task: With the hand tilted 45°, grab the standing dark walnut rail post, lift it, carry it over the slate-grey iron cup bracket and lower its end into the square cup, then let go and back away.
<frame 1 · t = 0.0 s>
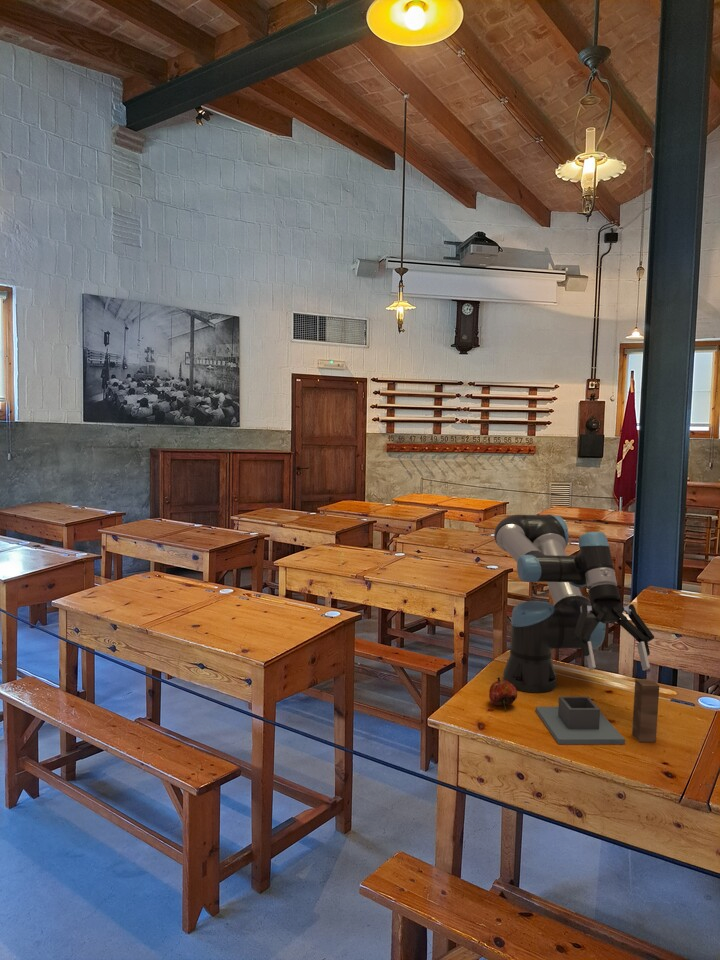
hand: (619, 669, 165), 15 cm above the table, tool tilted 35°, fingers open, 13 cm apart
walnut rail post: (643, 738, 162), on the table
cup bracket: (577, 726, 167), on the table
pomegranate: (502, 707, 179), on the table
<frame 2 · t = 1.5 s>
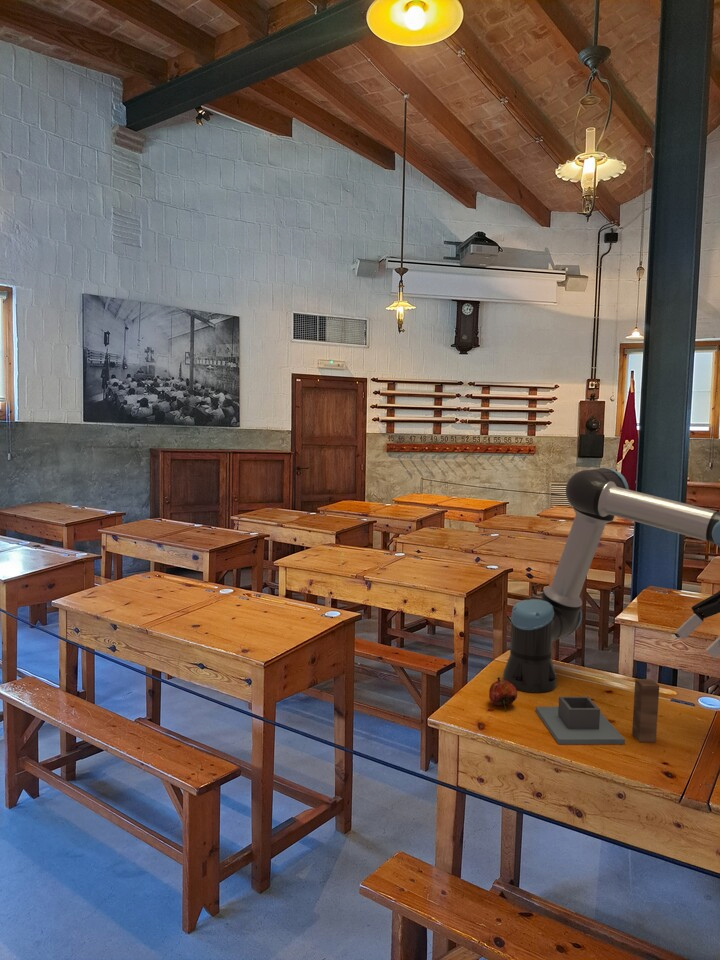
hand: (694, 644, 160), 23 cm above the table, tool tilted 45°, fingers open, 13 cm apart
nothing on the table moved.
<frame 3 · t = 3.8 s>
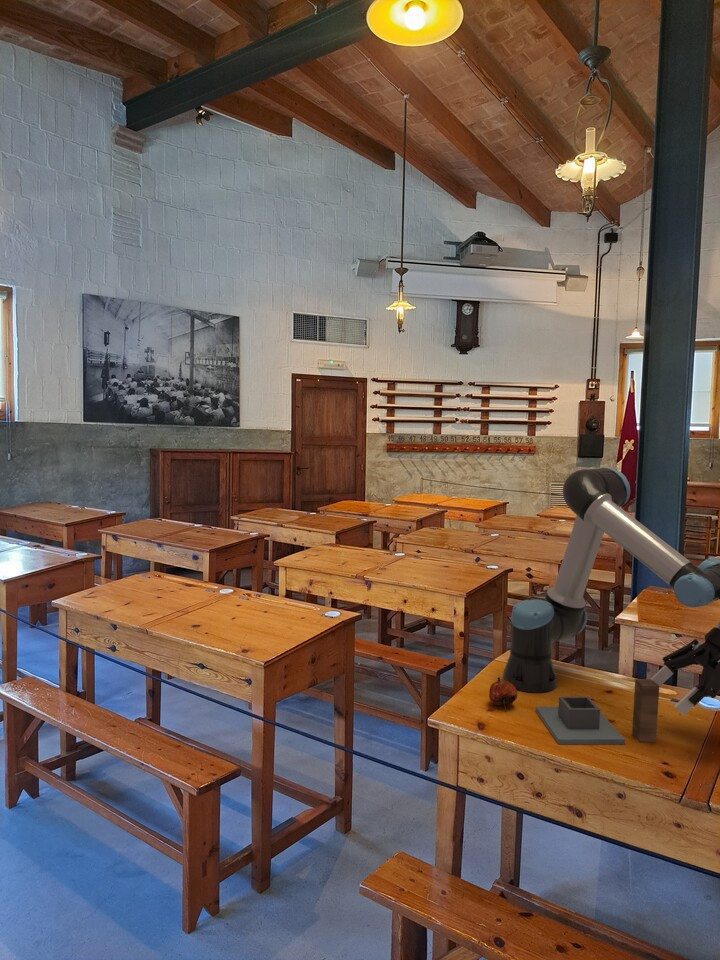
hand: (663, 698, 160), 10 cm above the table, tool tilted 45°, fingers open, 13 cm apart
nothing on the table moved.
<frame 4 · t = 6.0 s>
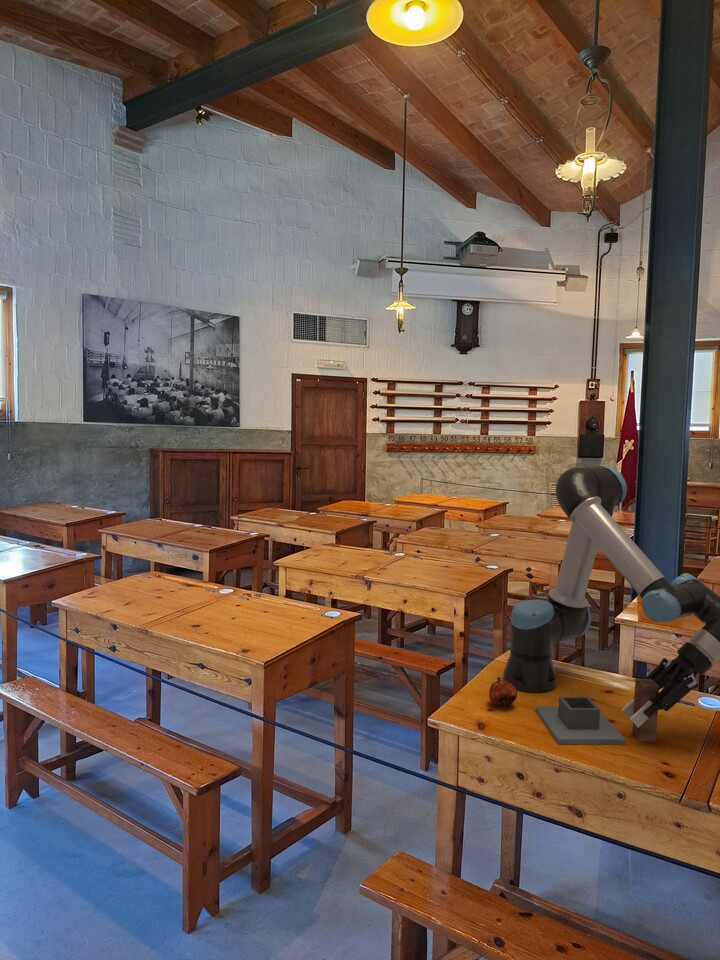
hand: (629, 718, 161), 5 cm above the table, tool tilted 45°, fingers closed on walnut rail post, 4 cm apart
walnut rail post: (643, 738, 162), on the table, touching gripper
everything else where it was.
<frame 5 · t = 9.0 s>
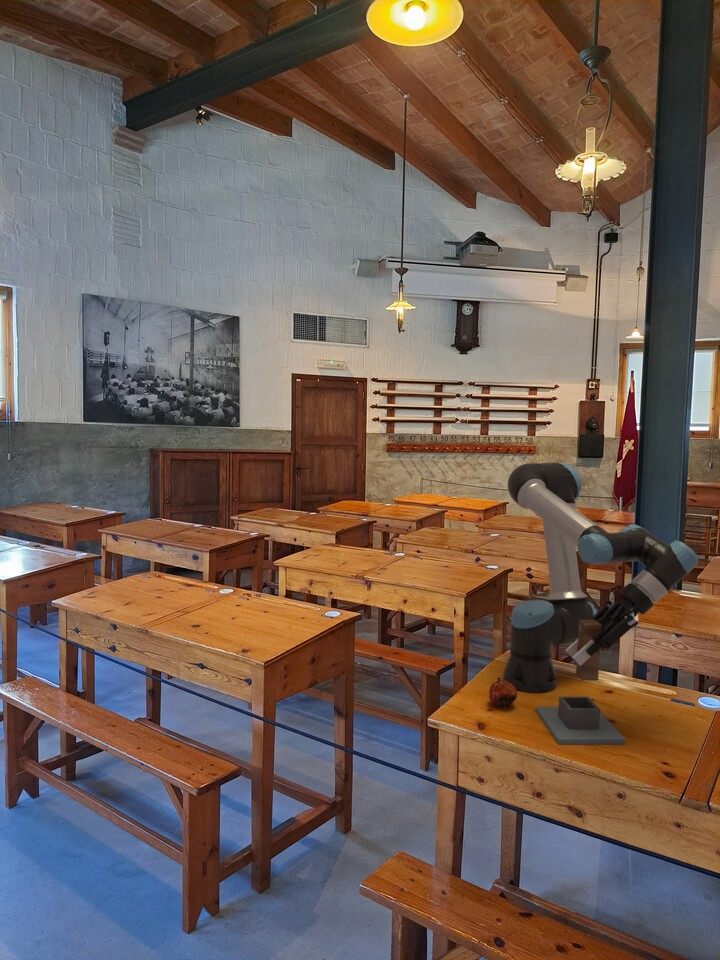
hand: (572, 657, 165), 18 cm above the table, tool tilted 45°, fingers closed on walnut rail post, 4 cm apart
walnut rail post: (586, 677, 165), point 13 cm above the table, touching gripper
everything else where it was.
when the fingers open (7 cm above the table, at t = 12.0 s): walnut rail post drops 1 cm, resting on cup bracket.
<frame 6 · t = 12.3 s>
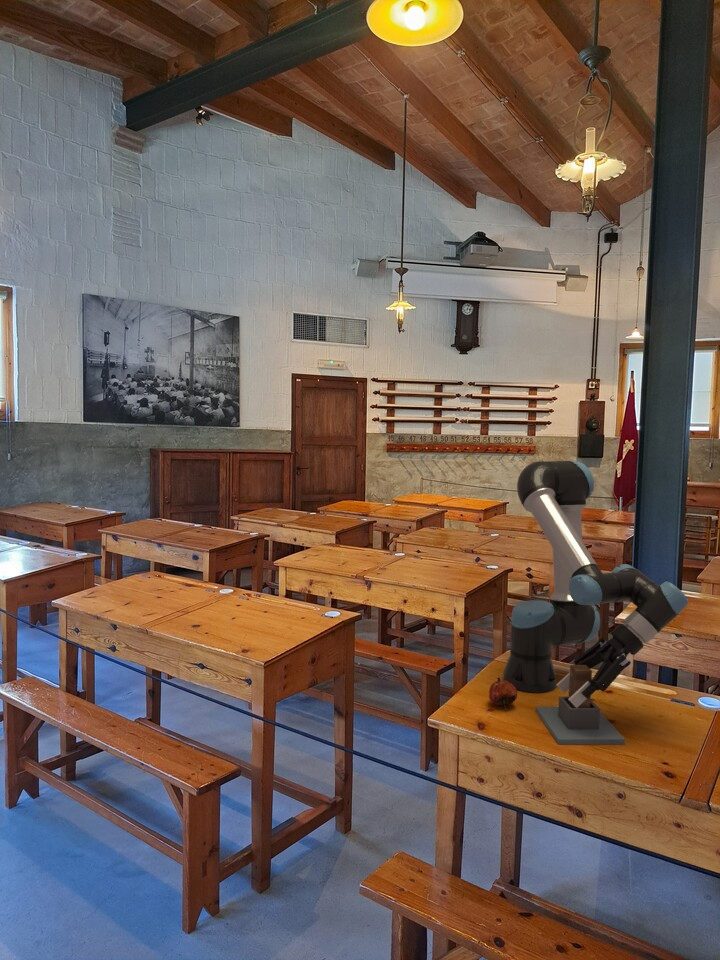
hand: (566, 696, 166), 8 cm above the table, tool tilted 45°, fingers open, 8 cm apart
walnut rail post: (578, 722, 167), point 1 cm above the table, touching cup bracket
everything else where it was.
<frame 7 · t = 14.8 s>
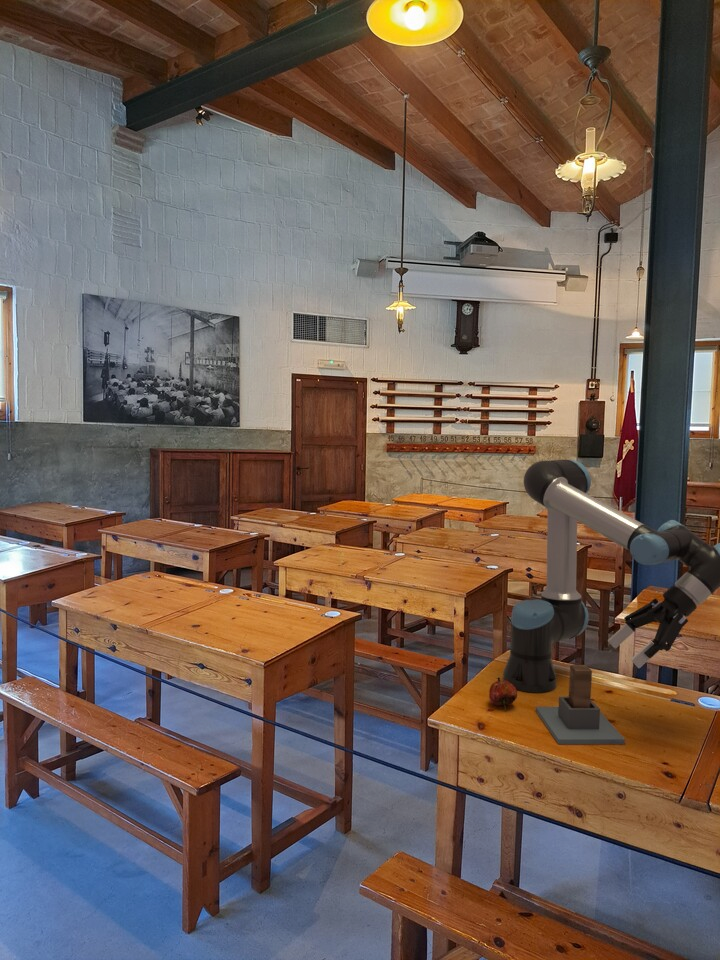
hand: (622, 654, 166), 19 cm above the table, tool tilted 45°, fingers open, 13 cm apart
nothing on the table moved.
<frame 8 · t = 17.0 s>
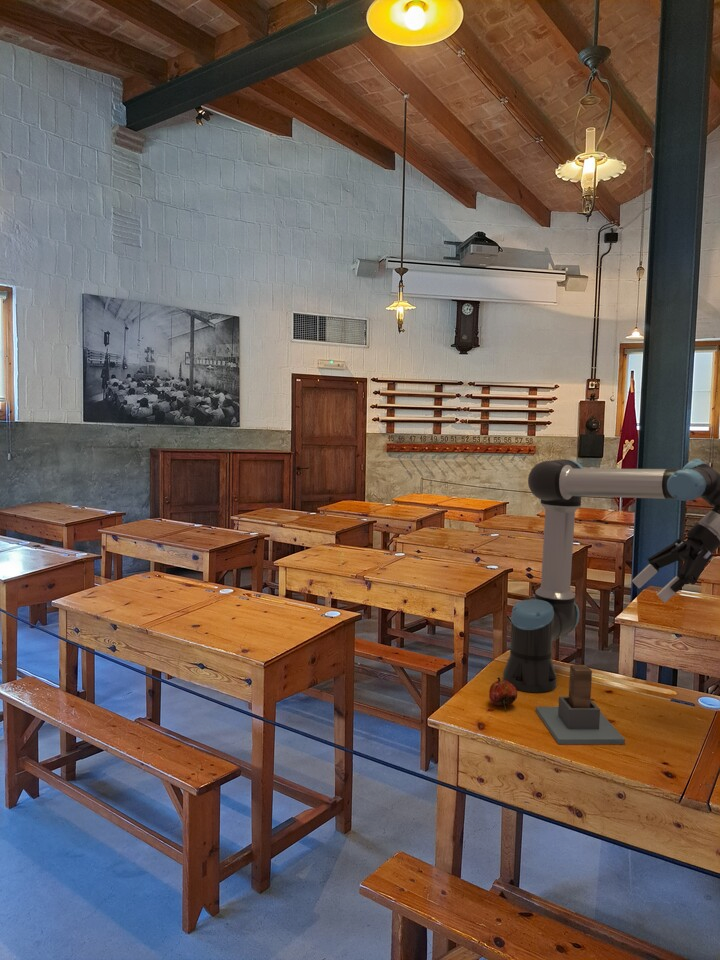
hand: (647, 591, 169), 34 cm above the table, tool tilted 45°, fingers open, 13 cm apart
nothing on the table moved.
at the end: walnut rail post 0.0 cm off-centre on the cup bracket, point 1.2 cm above the cup bracket's base; walnut rail post tilted 0°; the gripper is holding nothing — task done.
